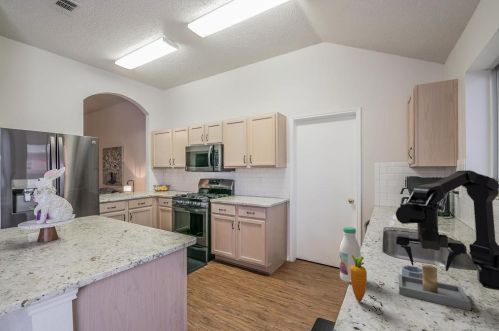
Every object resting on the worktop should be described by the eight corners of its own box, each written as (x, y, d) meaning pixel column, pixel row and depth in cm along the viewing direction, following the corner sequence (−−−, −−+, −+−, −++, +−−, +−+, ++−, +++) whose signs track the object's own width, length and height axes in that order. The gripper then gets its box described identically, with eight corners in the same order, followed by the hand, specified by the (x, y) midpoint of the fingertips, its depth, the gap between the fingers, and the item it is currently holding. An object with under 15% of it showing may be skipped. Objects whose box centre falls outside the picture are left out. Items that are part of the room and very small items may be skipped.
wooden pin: (436, 290, 79) (435, 266, 79) (438, 295, 76) (437, 270, 76) (422, 286, 81) (421, 264, 81) (423, 291, 78) (422, 268, 78)
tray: (461, 293, 78) (461, 286, 78) (470, 310, 69) (470, 302, 69) (398, 280, 88) (398, 274, 88) (399, 294, 78) (399, 286, 78)
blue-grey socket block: (424, 275, 93) (424, 268, 93) (426, 283, 86) (426, 274, 86) (401, 271, 97) (401, 264, 97) (402, 278, 90) (402, 270, 90)
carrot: (347, 298, 76) (346, 252, 76) (361, 297, 76) (360, 252, 77) (355, 306, 71) (354, 258, 72) (371, 306, 71) (369, 257, 72)
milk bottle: (360, 276, 92) (358, 226, 93) (362, 285, 85) (361, 230, 86) (339, 273, 95) (338, 225, 95) (340, 282, 87) (339, 229, 88)
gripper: (395, 223, 78) (397, 270, 77) (470, 230, 68) (472, 284, 67) (395, 218, 87) (396, 259, 86) (461, 223, 77) (463, 270, 76)
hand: (429, 268), depth 79 cm, fingers open, 9 cm apart
